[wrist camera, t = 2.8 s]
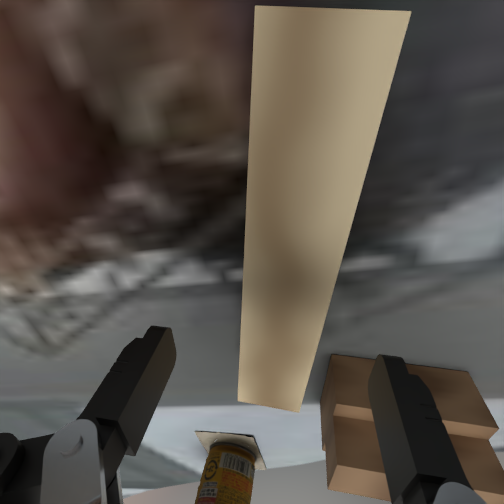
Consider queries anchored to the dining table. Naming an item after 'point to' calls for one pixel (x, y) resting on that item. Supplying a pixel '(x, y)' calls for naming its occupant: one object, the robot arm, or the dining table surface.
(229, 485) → the condiment
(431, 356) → the dining table surface
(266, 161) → the batten
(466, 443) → the stair steps
